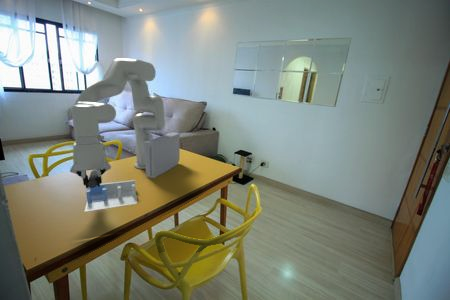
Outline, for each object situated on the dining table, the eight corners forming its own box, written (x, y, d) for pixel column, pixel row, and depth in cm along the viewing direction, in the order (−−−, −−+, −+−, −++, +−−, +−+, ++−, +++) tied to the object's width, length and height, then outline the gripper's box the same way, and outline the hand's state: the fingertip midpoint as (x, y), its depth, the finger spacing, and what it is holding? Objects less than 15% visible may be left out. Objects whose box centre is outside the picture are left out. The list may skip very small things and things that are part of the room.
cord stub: (91, 177, 90) (90, 170, 89) (99, 176, 91) (98, 169, 90) (87, 188, 81) (86, 180, 80) (97, 187, 82) (96, 179, 82)
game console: (144, 177, 117) (142, 141, 111) (171, 161, 142) (171, 132, 136) (153, 179, 115) (152, 143, 109) (179, 163, 140) (179, 133, 134)
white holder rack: (89, 193, 97) (88, 182, 96) (135, 187, 105) (134, 177, 104) (84, 212, 83) (82, 200, 82) (137, 204, 91) (136, 192, 90)
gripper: (113, 136, 84) (117, 179, 90) (62, 137, 78) (69, 184, 83) (113, 141, 78) (116, 187, 83) (57, 143, 71) (65, 193, 76)
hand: (93, 185), depth 83 cm, fingers closed on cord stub, 3 cm apart
